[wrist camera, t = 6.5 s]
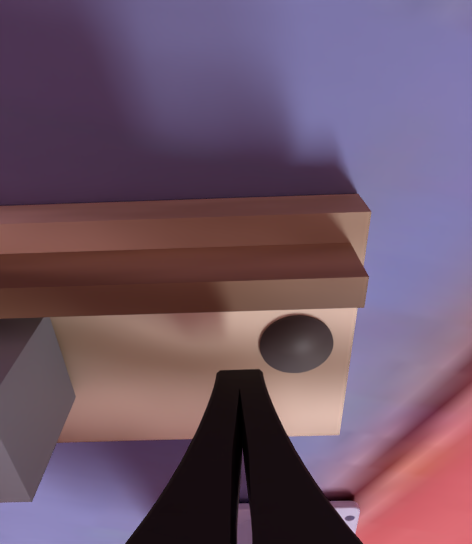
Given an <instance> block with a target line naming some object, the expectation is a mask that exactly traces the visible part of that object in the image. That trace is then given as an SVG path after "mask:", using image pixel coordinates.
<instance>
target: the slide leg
mask: <svg viewBox="0 0 472 544" xmlns="http://www.w3.org/2000/svg"><path fill="white" fill-rule="evenodd" d="M75 398H76V396H75V392H74V389H73V386H72V383H71V380H70V377H69V374H68V371H67V368H66V365H65V362H64V359H63V356H62V353H61V350H60V347H59V344H58V341H57V338H56V335H55V332H54V329H53V326H52V323H51V320H50V317H41V318H8V319H0V502H32V500H33V498H34V496H35V493H36V491H37V488H38V486H39V484H40V481H41V479H42V477H43V474H44V472H45V469H46V467H47V465H48V462H49V460H50V458H51V455H52V453H53V450H54V448H55V446H56V443H57V441H58V439H59V436H60V434H61V431H62V429H63V427H64V424H65V422H66V419H67V417H68V415H69V412H70V410H71V408H72V405H73V403H74V400H75Z"/></svg>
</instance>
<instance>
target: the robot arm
mask: <svg viewBox="0 0 472 544" xmlns="http://www.w3.org/2000/svg"><path fill="white" fill-rule="evenodd" d="M242 448H243V455H244V464H245V473H246V481H247V490H248V498H249V503H239V493H240V478H241V463H242ZM359 514H360V509H359V505H358V503H357V502H355V501H329V500H328V499H327V498H326V496H325V495H324V494H323V492H322V491H321V489H320V488H319V486H318V485H317V483H316V482H315V481H314V479H313V478H312V476H311V474H310V473H309V471H308V470H307V468H306V467H305V465H304V463H303V462H302V460H301V458H300V457H299V455H298V453H297V452H296V450H295V448H294V446H293V444H292V443H291V441H290V439H289V437H288V435H287V433H286V431H285V429H284V427H283V425H282V423H281V421H280V419H279V417H278V415H277V413H276V410H275V408H274V406H273V403H272V401H271V398H270V396H269V393H268V390H267V387H266V384H265V380H264V376H263V372H262V371H261V370H260V369H243V370H220V371H219V372H217V374H216V379H215V383H214V387H213V390H212V393H211V396H210V399H209V402H208V405H207V407H206V410H205V412H204V415H203V417H202V419H201V422H200V424H199V427H198V429H197V431H196V433H195V435H194V437H193V439H192V441H191V443H190V445H189V447H188V449H187V451H186V453H185V455H184V457H183V459H182V461H181V462H180V464H179V466H178V468H177V469H176V471H175V473H174V474H173V476H172V478H171V479H170V481H169V483H168V484H167V486H166V487H165V489H164V490H163V492H162V494H161V495H160V497H159V498H158V500H157V501H156V503H155V504H154V506H153V507H152V508H151V510H150V511H149V513H148V514H147V516H146V517H145V518H144V520H143V521H142V522H141V523H140V525H139V526H138V527H137V529H136V530H135V531H134V533H133V534H132V535H131V537H130V538H129V539H128V541H127V542H126V543H125V544H363V543H362V542H361V541H360V539H359V538H358V537H357V536H356V535H355V533H356V528H357V523H358V519H359Z"/></svg>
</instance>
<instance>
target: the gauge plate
mask: <svg viewBox="0 0 472 544" xmlns="http://www.w3.org/2000/svg"><path fill="white" fill-rule="evenodd" d="M370 217H371V211H370V209H369V208H368V207H367V205H366V204H365V202H364V201H363V200H362V198H361V197H360V196H359V194H335V195H306V196H276V197H247V198H218V199H189V200H159V201H130V202H101V203H71V204H42V205H13V206H0V319H8V318H41V317H50V320H51V323H52V326H53V329H54V332H55V335H56V338H57V341H58V344H59V347H60V350H61V353H62V356H63V359H64V362H65V365H66V368H67V371H68V374H69V377H70V380H71V383H72V386H73V389H74V392H75V396H76V398H75V400H74V403H73V405H72V408H71V410H70V412H69V415H68V417H67V419H66V422H65V424H64V427H63V429H62V431H61V434H60V436H59V439H58V441H57V443H62V442H99V441H136V440H173V439H193V437H194V435H195V433H196V431H197V429H198V427H199V424H200V422H201V419H202V417H203V415H204V412H205V410H206V407H207V405H208V402H209V399H210V396H211V393H212V390H213V387H214V383H215V379H216V374H217V372H219V371H220V370H243V369H260V370H261V371H262V372H263V376H264V380H265V384H266V387H267V390H268V393H269V396H270V398H271V401H272V403H273V406H274V408H275V410H276V413H277V415H278V417H279V419H280V421H281V423H282V425H283V427H284V429H285V431H286V433H287V435H288V436H321V435H339V434H340V427H341V420H342V413H343V406H344V399H345V392H346V385H347V378H348V371H349V364H350V357H351V350H352V343H353V336H354V329H355V322H356V315H357V308H364V305H365V299H366V292H367V285H368V279H369V276H368V274H367V273H366V271H365V269H364V267H363V266H364V259H365V252H366V245H367V238H368V231H369V224H370Z"/></svg>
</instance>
